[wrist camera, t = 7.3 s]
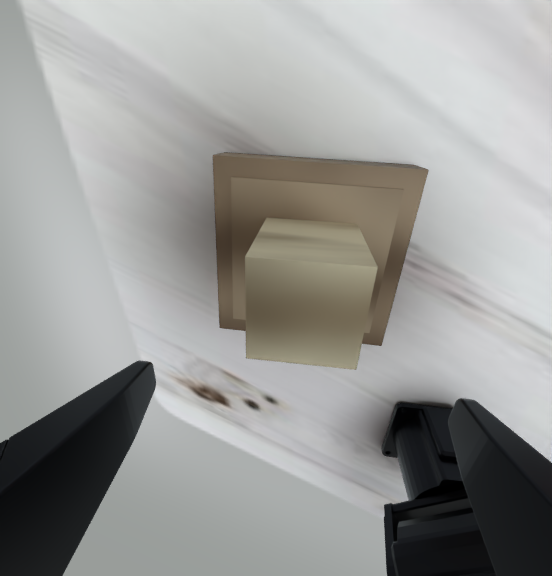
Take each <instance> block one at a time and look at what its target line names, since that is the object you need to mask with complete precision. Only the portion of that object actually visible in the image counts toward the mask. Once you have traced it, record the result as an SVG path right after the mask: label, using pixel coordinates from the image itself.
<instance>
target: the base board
mask: <svg viewBox="0 0 552 576" xmlns="http://www.w3.org/2000/svg"><path fill="white" fill-rule="evenodd" d="M213 174H214V199H215V224H216V249H217V274H218V300H219V325H220V328H224V329H233V330H243V331H246V303H245V256H246V254H247V252H248V251H249V249H250V247H251V245H252V243H253V242H254V240H255V238H256V236H257V234H258V232H259V231H260V229H261V227H262V225H263V223H264V221H265V220H266V218H278V219H294V220H309V221H324V222H339V223H354V224H358V226H359V228H360V230H361V233H362V235H363V237H364V239H365V241H366V243H367V245H368V247H369V250H370V252H371V254H372V256H373V258H374V260H375V262H376V265H377V267H378V268H377V273H376V278H375V283H374V287H373V292H372V297H371V302H370V306H369V311H368V316H367V321H366V326H365V330H364V335H363V340H362V344H370V345H379V346H381V345H382V342H383V338H384V334H385V330H386V327H387V323H388V319H389V315H390V312H391V308H392V304H393V301H394V297H395V293H396V289H397V286H398V282H399V278H400V275H401V271H402V267H403V263H404V260H405V256H406V252H407V248H408V245H409V241H410V237H411V234H412V230H413V226H414V222H415V219H416V215H417V211H418V208H419V204H420V200H421V196H422V193H423V189H424V185H425V181H426V178H427V174H428V169H425V168H422V167H419V166H416V165H408V164H393V163H378V162H363V161H348V160H333V159H318V158H303V157H288V156H273V155H258V154H243V153H228V152H224V153H220V154H216V155H213Z"/></svg>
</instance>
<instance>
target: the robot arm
mask: <svg viewBox="0 0 552 576" xmlns="http://www.w3.org/2000/svg"><path fill="white" fill-rule="evenodd" d="M155 387H156V379H155V373H154V368H153V364H152V363H151V362H148V361H137V362H135V363H133V364H131V365H130V366H128V367H126V368H125V369H123V370H121V371H120V372H118V373H116V374H115V375H113V376H111V377H110V378H108V379H107V380H105V381H103V382H101V383H100V384H98V385H96V386H95V387H93V388H91V389H90V390H88V391H86V392H85V393H83V394H81V395H80V396H78V397H76V398H75V399H73V400H72V401H70V402H68V403H66V404H65V405H63V406H62V407H60V408H58V409H56V410H55V411H53V412H51V413H50V414H48V415H46V416H45V417H43V418H41V419H40V420H38V421H36V422H35V423H33V424H31V425H30V426H28V427H26V428H25V429H23V430H21V431H20V432H18V433H17V434H15V435H13V436H11V437H10V438H9V440H5V441H3V442H2V443H0V576H62V575H63V573H64V572H65V570H66V568H67V566H68V564H69V562H70V560H71V558H72V556H73V555H74V553H75V551H76V549H77V547H78V545H79V543H80V541H81V540H82V537H83V536H84V534H85V532H86V530H87V528H88V526H89V524H90V522H91V521H92V519H93V517H94V515H95V513H96V511H97V509H98V507H99V505H100V503H101V502H102V500H103V498H104V496H105V494H106V492H107V490H108V488H109V486H110V485H111V482H112V481H113V479H114V477H115V475H116V473H117V471H118V469H119V468H120V466H121V464H122V462H123V460H124V458H125V456H126V454H127V452H128V451H129V449H130V447H131V445H132V443H133V441H134V439H135V436H136V434H137V432H138V430H139V427H140V425H141V422H142V420H143V418H144V415H145V412H146V410H147V407H148V405H149V403H150V400H151V398H152V395H153V393H154V390H155ZM382 454H383V455H384V456H389V457H396V458H398V460H399V464H400V468H401V472H402V476H403V480H404V484H405V488H406V492H407V495H408V499H409V501H406V502H401V503H397V504H392V503H390V504H385V505H384V509H385V517H384V527H385V547H386V565H387V566H386V567H387V576H552V463H551V462H550V461H549V460H548V459H546V458H545V457H544V456H543V455H542V454H540V453H539V452H538V451H537V450H535V449H534V448H533V447H532V446H530V445H529V444H528V443H527V442H526V441H524V440H523V439H522V438H521V437H519V436H518V435H517V434H516V433H515V432H513V431H512V430H511V429H510V428H508V427H507V426H506V425H505V424H504V423H502V422H501V421H500V420H499V419H497V418H496V417H495V416H494V415H493V414H491V413H490V412H489V411H488V410H486V409H485V408H484V407H483V406H482V405H480V404H479V403H478V402H476V401H475V400H471V399H462V398H461V399H458V400H457V401H456V403H455V405H454V407H453V409H449V408H441V407H433V406H425V405H417V404H409V403H398V404H397V405H396V406H395V409H394V412H393V415H392V418H391V421H390V424H389V427H388V430H387V433H386V436H385V439H384V442H383V445H382Z"/></svg>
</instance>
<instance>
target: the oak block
mask: <svg viewBox="0 0 552 576" xmlns="http://www.w3.org/2000/svg"><path fill="white" fill-rule="evenodd" d="M377 268H378V267H377V265H376V262H375V260H374V258H373V256H372V254H371V252H370V250H369V247H368V245H367V243H366V241H365V239H364V237H363V235H362V233H361V230H360V228H359V226H358V224H354V223H339V222H324V221H309V220H294V219H278V218H266V220H265V221H264V223H263V225H262V227H261V229H260V231H259V232H258V234H257V236H256V238H255V240H254V242H253V243H252V245H251V247H250V249H249V251H248V252H247V254H246V256H245V303H246V358H248V359H258V360H267V361H277V362H287V363H296V364H306V365H315V366H325V367H334V368H344V369H354V370H356V368H357V364H358V359H359V354H360V349H361V345H362V340H363V335H364V330H365V326H366V321H367V316H368V311H369V306H370V302H371V297H372V292H373V287H374V283H375V278H376V273H377Z"/></svg>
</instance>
